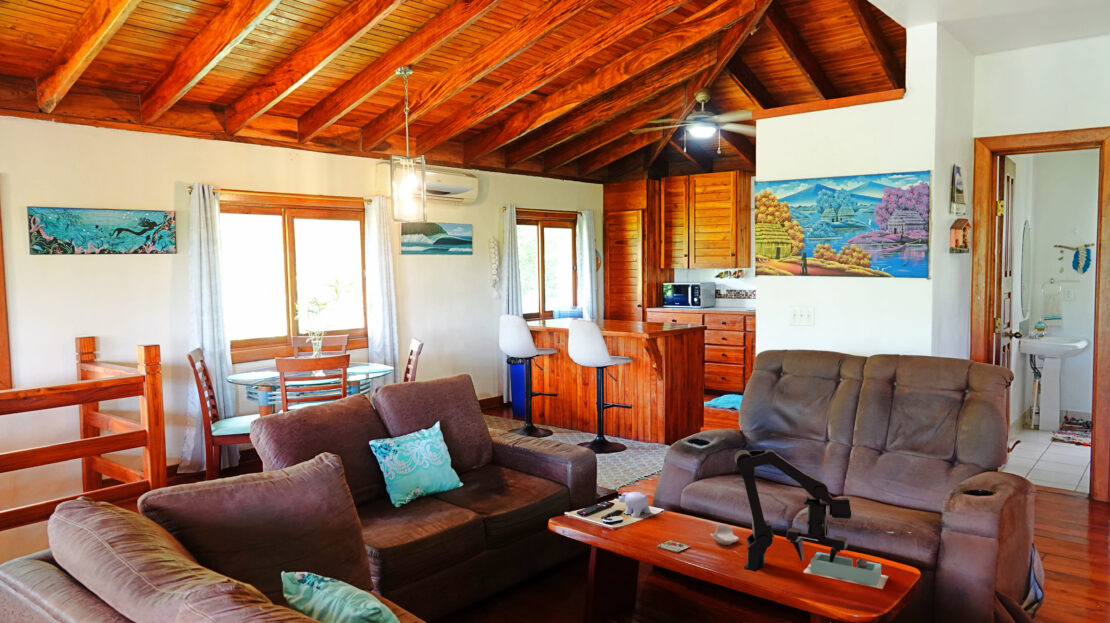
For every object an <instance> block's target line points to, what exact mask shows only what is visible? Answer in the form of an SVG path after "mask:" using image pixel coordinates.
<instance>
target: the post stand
mask: <svg viewBox="0 0 1110 623" xmlns="http://www.w3.org/2000/svg"><path fill="white" fill-rule="evenodd" d="M857 560H858V561H857ZM857 560H856V565H858V568H862V569H866V567H867V562H866V561H867V560H866V559H864V558H859V559H857ZM803 573H804V574H809V575H814V576H818V577H824V578H828V579H829V578H830V579H833V580H838V581H843V582H847V583H852V584H856V585H857V584H858V585H861V586H866V587H871V588H877V589H881V590H883V589H884V587H885V585H886V582H887V580H888V579H889V575H885V574H881V577H880V579H879V581H878V583H877V585H876V586H875V585H870V584H865V583H861V582H856V581H851V580H846V579H841V578H837V577H832V576H827V575H822V574H817V573H813V572H811V562H809V564H808V566H807V567H806V568H805V569H804V570H803Z"/></svg>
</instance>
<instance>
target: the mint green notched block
mask: <svg viewBox="0 0 1110 623" xmlns="http://www.w3.org/2000/svg"><path fill="white" fill-rule="evenodd" d="M858 560H859V559H856V562H857V561H858ZM853 562H854V560H853V558H850V557H847V556H846V557H845V556H842V555H841V556H840V555H836V556H835V559H834V561H833V563H831V562H830V553H825V552H821V551H817V552H816V553H815V554H814V555H813V556H812V558H811V559H810V563H811V572H813V573H817V574H822V575H827V576H832V577H837V578H841V579H846V580H851V581H856V582H861V583H865V584H870V585H875V586H876V585H877V583H878V581H879V579H880V577H881V575H882V563H877V562H872V561H867V560H866V562H867V567H866V569H862V568H858V565H857V564H856V567H855V566H853Z"/></svg>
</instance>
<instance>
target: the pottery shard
mask: <svg viewBox="0 0 1110 623" xmlns="http://www.w3.org/2000/svg"><path fill="white" fill-rule="evenodd" d="M710 536H711V537H712V538H713V539H714V540H715V541H717V543H719V544H721V545H724V546H725V545H728V546H730V545H732V544H733V543H735V542H738V540H739V537H738V536H736V535H735V534H734V532H733V529H732V528H731V527H730V526H729V525H728V524H725V523H724V524H723V523H721V524H720V523H719V524H717V527H716V530H715V532H714V533H713V532H712V533H710Z"/></svg>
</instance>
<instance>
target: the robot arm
mask: <svg viewBox="0 0 1110 623" xmlns="http://www.w3.org/2000/svg"><path fill="white" fill-rule="evenodd" d="M734 461H735V464H736V466H737V468H738V470H739V472H740V475H741V478H742V480H743V485H744V488H745V492H746V493H745V494H746V497H747V502H748V505H749V509H750V514H751V517H752V518H751V529H752V533H751V534H750V535H748V537H746V538H745V541H746V544H747V550H746V551H747V552H746V553H747V555H746V556H747V558H746V559H747V560H746V561H747V562H746V563H745V565H744V566H743V569H747V570H751V571H756V572H757V571H759V570H760V569H762V568H764V567H765V566H766V552H767V550H768V548H770V547H771V545H772V544H773V541H774V540H773V538H775V535H774V534H773V529H772V528H773V527H772V524H771V521H770V520H769V519H767V520H765V518H764V514H763V509H762V505H761V501H760V497H759V493H758V488H757V484H756V483H757V482H756V480H755V478H756V476H755V472H756V470H755V468H758V467H761V466H764V465H768V464H770V465H772V466H773V467H775V468H776V469H777V470H779V471H780V472H782V473H784V474H785V475H786V476H788V477H789V478H791V480H794V481H795V482H797V483H798V484H799V485H800V486H801V487H802V488H803V489H804V490H805V491H806V492H807V493H808V494H809V495H810V496H811V497H812V498H810V496H808V495H806V496H805V497H803V498H802V500H801V502H802V503H803V505H804V506H805V505H807V523H806V528H807V533H806V532H803V529H801V528H795V527H790V528H789V529H788V530H787V531H786V534H785V540H787V541H789V543H790V544H792V545H793V547H794V549H795V550H796V552H797V555H798V557H799V560H800V562H804V546H803V541H804V540H807V541H812V542H819V543H823V544H829V545H831V548H830V551H829V552H830V553H829V554H830V562H831V563H833V561H834V559H835V556H837V554H838V553H840V552H842V551H845V550H846V549H847V547H848V545H849V539H848V538H847V537H846V536H842V535H834V536H833V537H829V536H828V535H829V534H830V524H829V523H828V522H827V515H828V516H830V518H831V519H833V520H851V518H852V509H851V503H850V499H849V498H848V497H840V498H839V497H832V496H831V494H830V493H829V488H828V486H827V484H825V482H824V481H823V480H822V479H821V478H818V477H816V476H814V475H812V474H809V473H807V472H804V471H803V470H801V469H799V468H798V467H796V466H795V465H794V464H792V463H791V462H790V461H787V460H786V459H785V458H783V457H782V456H781V455H779V454H777V453H776V452H775V451H774V450H773V449H771V448H769V449H768V448H767V449H762V450H758V449H757V450H749V451H748V450H745V449H740V450H738V451H737V452H735V455H734Z"/></svg>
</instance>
